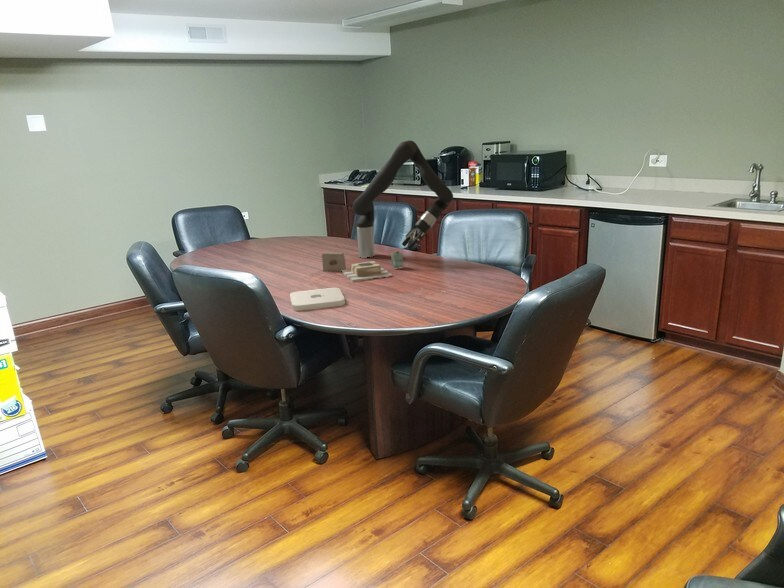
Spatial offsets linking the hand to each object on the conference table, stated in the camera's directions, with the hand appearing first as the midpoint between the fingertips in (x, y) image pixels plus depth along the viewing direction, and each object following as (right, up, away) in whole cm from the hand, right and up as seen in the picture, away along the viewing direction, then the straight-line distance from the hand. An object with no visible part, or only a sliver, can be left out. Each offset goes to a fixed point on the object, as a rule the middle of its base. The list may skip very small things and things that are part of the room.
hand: (405, 246), depth 297 cm
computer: (-39, -28, -48) cm, 68 cm away
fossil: (-37, -12, +4) cm, 39 cm away
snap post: (-4, -11, +1) cm, 12 cm away
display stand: (-20, -14, -7) cm, 26 cm away
